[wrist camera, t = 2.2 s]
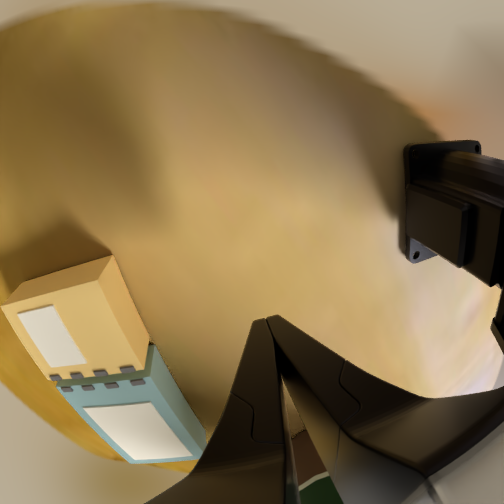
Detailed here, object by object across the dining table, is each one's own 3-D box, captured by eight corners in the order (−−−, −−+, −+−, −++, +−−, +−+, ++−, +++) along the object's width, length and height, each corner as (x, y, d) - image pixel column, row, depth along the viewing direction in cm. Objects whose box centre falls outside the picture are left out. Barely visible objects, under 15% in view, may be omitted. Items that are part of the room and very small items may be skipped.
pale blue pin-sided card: (154, 344, 14) (150, 378, 12) (205, 430, 18) (207, 459, 16) (67, 358, 14) (55, 388, 11) (132, 438, 17) (130, 464, 15)
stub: (113, 254, 12) (96, 281, 10) (149, 336, 14) (143, 371, 11) (22, 282, 11) (-1, 307, 9) (61, 351, 13) (47, 381, 11)
